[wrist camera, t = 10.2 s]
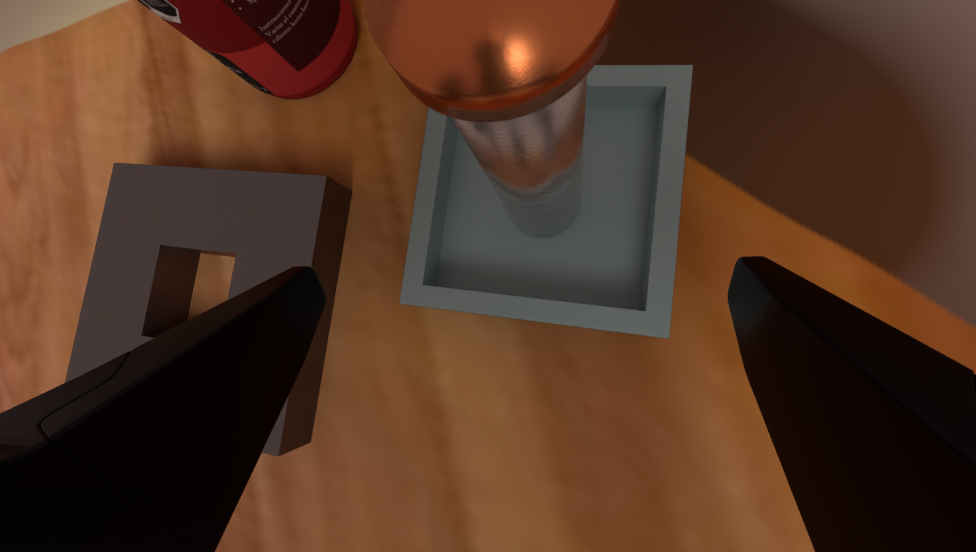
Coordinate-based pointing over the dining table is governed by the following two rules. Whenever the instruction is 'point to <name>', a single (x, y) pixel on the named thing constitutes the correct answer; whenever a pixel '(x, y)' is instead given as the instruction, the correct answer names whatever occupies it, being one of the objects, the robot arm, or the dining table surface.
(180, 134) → the dining table surface
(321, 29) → the canned food
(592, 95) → the tray
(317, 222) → the block
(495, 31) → the hitch pin
